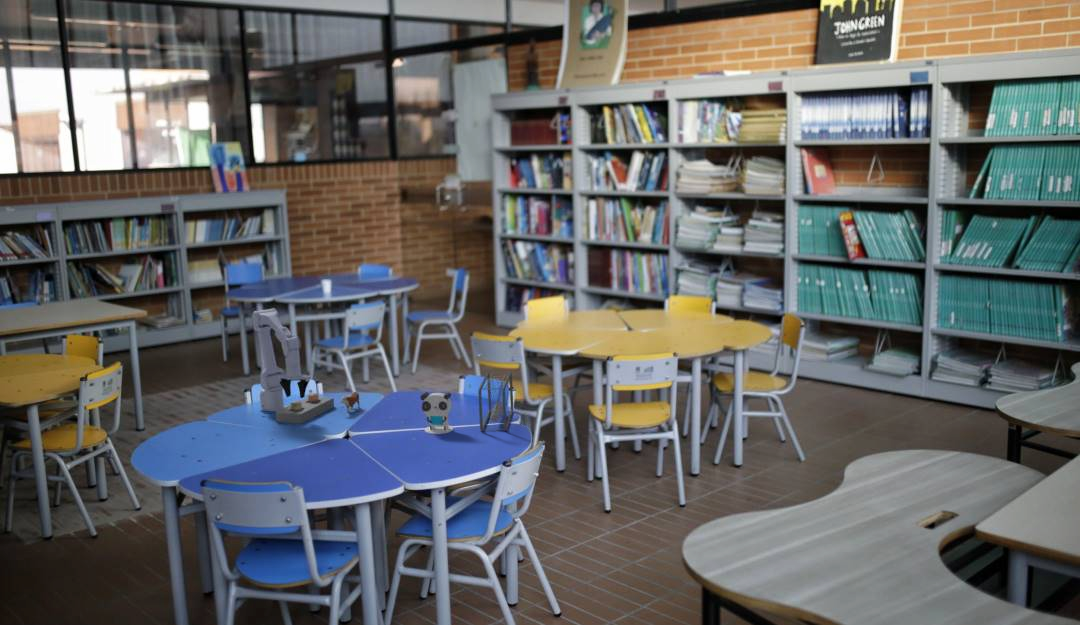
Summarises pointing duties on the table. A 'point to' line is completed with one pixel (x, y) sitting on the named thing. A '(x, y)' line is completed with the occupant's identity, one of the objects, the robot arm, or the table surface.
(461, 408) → the table surface
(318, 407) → the block
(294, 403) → the birch plunger
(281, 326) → the robot arm
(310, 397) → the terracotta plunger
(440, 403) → the panda figurine
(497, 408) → the newton's cradle
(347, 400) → the bull figurine
